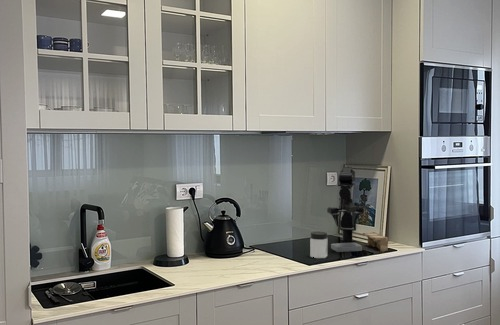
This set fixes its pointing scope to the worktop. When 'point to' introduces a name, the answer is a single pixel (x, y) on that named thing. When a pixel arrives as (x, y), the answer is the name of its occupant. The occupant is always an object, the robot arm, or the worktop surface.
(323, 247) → the jar
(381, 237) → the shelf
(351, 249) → the slate board
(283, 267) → the worktop surface
